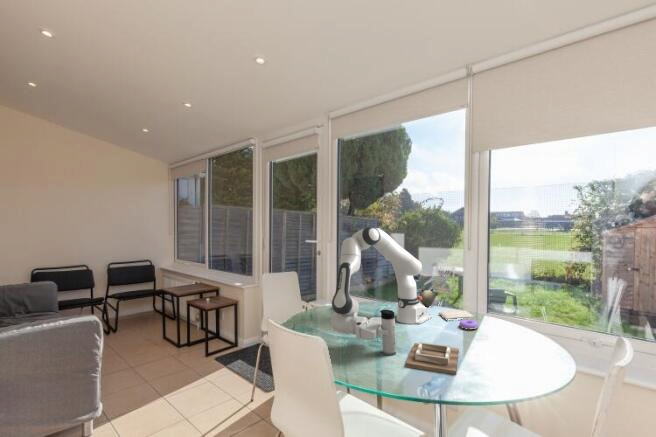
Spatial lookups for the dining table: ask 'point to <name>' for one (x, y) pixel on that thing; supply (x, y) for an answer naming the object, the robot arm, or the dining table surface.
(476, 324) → the donut
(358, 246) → the robot arm
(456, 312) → the washcloth
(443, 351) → the dock
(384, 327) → the travel mug
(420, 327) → the dining table surface
